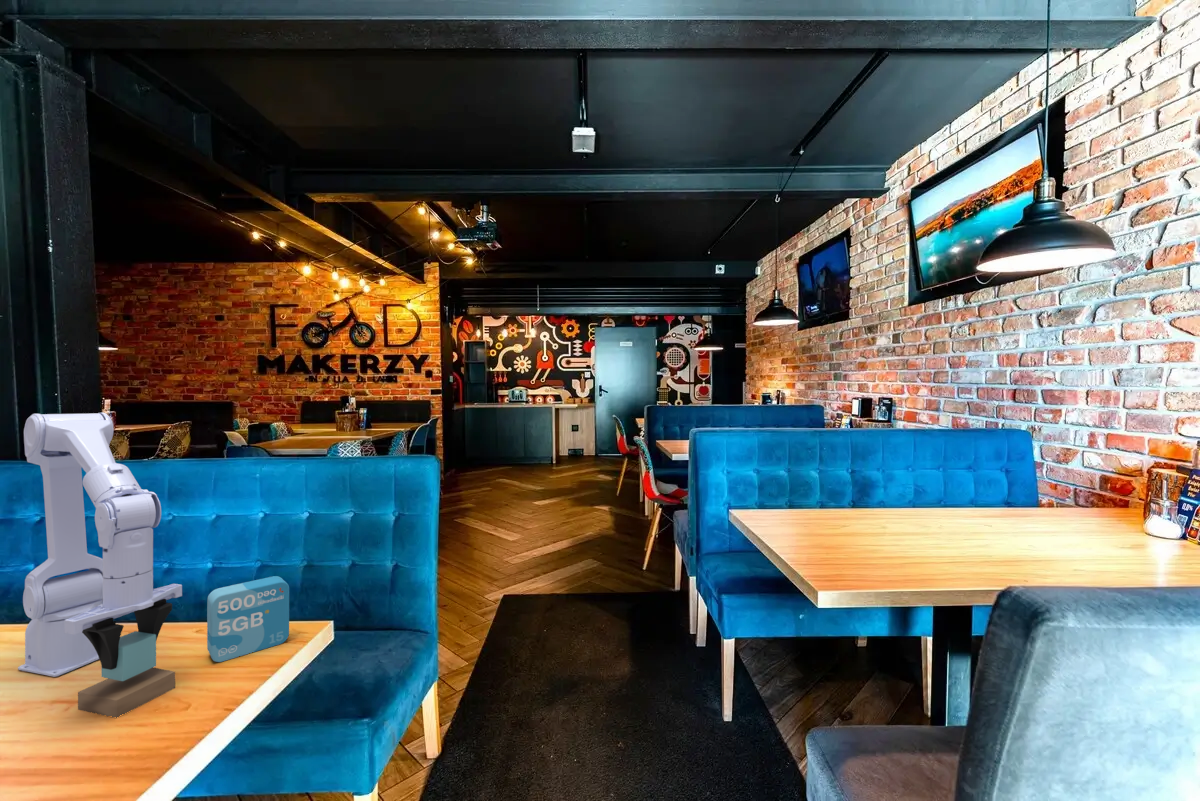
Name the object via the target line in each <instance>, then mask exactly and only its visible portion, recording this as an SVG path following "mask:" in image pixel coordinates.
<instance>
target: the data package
mask: <svg viewBox="0 0 1200 801" xmlns="http://www.w3.org/2000/svg"><path fill="white" fill-rule="evenodd" d="M206 605H207V608H206V611H207V612H206V613H207V614H206V617H207V618H206V620H207V628H206V629H207V630H206V632H207V633H206V636H207V637H206V639H207V640H206V642H207V644H206V645H207V647H206V648H207V651H208V653H209V655H210V658H211V659H212V661H213V662H215V663H223V662H225V661H229V660H232V659H235V658H239V656H240V657H242V656H246V655H250V654H252V652H253V653H256V652H259V651H262V650H266V649H269V648H272V647H276V646H279V645H282V644H283V643H284V642H286V641H287V639H288V638H289V635H290V586H289V583H287V581H286V580H284V579H283V578H282V577H280V576H277V575H275V576H269V577H265V578H259V579H256V580H251V581H245V582H241V583H237V584H232V585H228V586H223V587H219V588H215V589H213V590H212V591H211V592H210V593H209V594H208V596H207V603H206ZM249 653H250V654H249Z"/></svg>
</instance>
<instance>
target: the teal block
mask: <svg viewBox="0 0 1200 801" xmlns="http://www.w3.org/2000/svg"><path fill="white" fill-rule="evenodd" d="M100 667H101V678H105V679H108V678H109V679H114V680H119V681H125V680H127V679H129V678H131V677H133V676H135V675H138V674H140V673H142V672H144V671H146V670H148V669H150V668H156V667H157V640H156V634H150V633H144V632H138V630H134V631H132V632H129V633H126V634H125V635H122V636H120V640H119V646H118V661H117V667H116V668H115V669H112V670H109V669H104V668H102V665H101V666H100Z"/></svg>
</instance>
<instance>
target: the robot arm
mask: <svg viewBox="0 0 1200 801" xmlns="http://www.w3.org/2000/svg"><path fill="white" fill-rule="evenodd" d="M113 436H114V422H113V419H112V418H111V416H109V415H108V414H107V412H98V413H94V412H93V413H89V412H88V413H47V414H46V413H45V414H41V413H32V414H31V415H30V416H29V417H28V418H27V419H26V420H25V424H24V428H23V444H24V455H25V457H26V461H27V463H30V464H33V465H38V466H40V471H41V474H42V482H43V483H42V484H43V499H44V512H45V513H44V516H45V528H46V545H47V546H46V547H47V559H45V561H43V562H42V563H41V564H39V565H38V566H36V567H35V568H34V569H33V570H32V571H30V572H29V573H28V574H27V575H26V576H25V579H24V590H23V593H22V594H23V595H22V605H23V609H24V613H25V615H26V616H27V617H28V619H31V620H30V621H29V623H28V625H27V627H26V628H25V633H24V635H25V636H24V637H25V638H24V647H25V648H24V651H25V652H24V656H25V657H24V658H25V659H24V663H23V664H21V665H19V666H18V667H17V670H19V671H22V672H29V673H33V674H39V675H45V676H49V677H55V678H56V677H59V676H61V675H64V674H67V673H69V672H71V671H74V670H76V669H78V668H80V667H83V666H85V665H88V664H90V663H93V662H96V661H97V660H99V661H100V664H101V665H102V668H104V669H109V670H112V669H115V668H116V667H117V661H118V646H119V640H120V637H122V636H121V635H122V633H123V629H124V625H123V624H119V623H116V621H115V619H117V618H120V617H122V616H123V617H124V616H125V615H129V614H130V613H133V614H134V616H135V619H136V624H137V626H136V627H137V631H138V632H144V633H150V634H156V641H157V640H158V637H159V634H160V632H161V629H162V627H163V625H164V623H165V621H166V619H167V618H168V616H169V615H170V613H171V612H172V610H173V603H171V602H167V600H170V599H177V598H180V597H183V585H182V584H178V583H171V584H169V585H164V586H160V587H157V588H154V528H157V527H158V526H159V524H160V522H161V519H162V506H161V505H162V504H161V501H160V500H159V497H158V494H156V493H155V492H154V491H149V490H148V489H142V487H141V486H140V485H139V483H138V481H137V480H136V478H135V476H134V475H133V473H132V471H131V470H130V468H129V467H128V466H126V465H125V464H122V463H117V462H116V460H115V458H114V455H113V453H112V451H111V448H110V444H111V441H112V439H113ZM82 470H83V471H84V472H85V475H84V476H83V473H82V472H83V471H82ZM83 487H84V489H85V491H86V493H87V495H88V496H89V498H90V500H91V503H93V506H94V508H95V513H94V522H95V523H94V524H95V525H94V526H95V528H96V531H97V537H98V540H97V541H98V546H99V547H100V548H102V557H99V556H96V555H94V554H90V553H88V548H87V546H88V545H87V532H86V531H87V529H86V518H85V517H86V516H85V503H84V489H83ZM82 570H85V571H82ZM79 571H80V572H79ZM73 572H76V573H73ZM70 573H71V574H70ZM64 574H65V575H64ZM66 574H67V575H66ZM60 575H61V576H60ZM55 576H57V577H55ZM102 668H101V669H102Z"/></svg>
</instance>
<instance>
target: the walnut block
mask: <svg viewBox="0 0 1200 801" xmlns="http://www.w3.org/2000/svg"><path fill="white" fill-rule="evenodd" d="M175 688H176V671H174V670H168V669H162V668H158V667H153V668H150V669H148V670H146V671H144V672H142V673H140V674H138V675H135V676H133V677H131V678H129V679H127V680H125V681H119V680H114V679H109V678H105V679H103V680H102V681H100V682H97V683H94V684H92V685H91V686H89V687H86V688H84V689H82V690H80V691H78V692H77V710H78V711H82V712H86V713H91V712H92V713H91V714H95V713H97V714H96V715H100V714H101V716H104V715H106V716H105V717H108V716H112V717H111V718H113V717H116V718H115V719H118V718H120V717H121V716H120V715H122V714H124V715H126V714H128V713H130V712H131V710H132V711H134V710H135V709H137V708H138V707H141V706H143V705H145V704H147V703H149V702H151V701H152V700H155V699H157V698H159V697H160V696H162V695H164V694H166V693H167V692H170V691H172V690H174V689H175ZM129 711H130V712H129ZM127 712H128V713H127ZM125 713H126V714H125ZM119 716H120V717H119ZM122 716H123V715H122ZM117 717H118V718H117Z"/></svg>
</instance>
